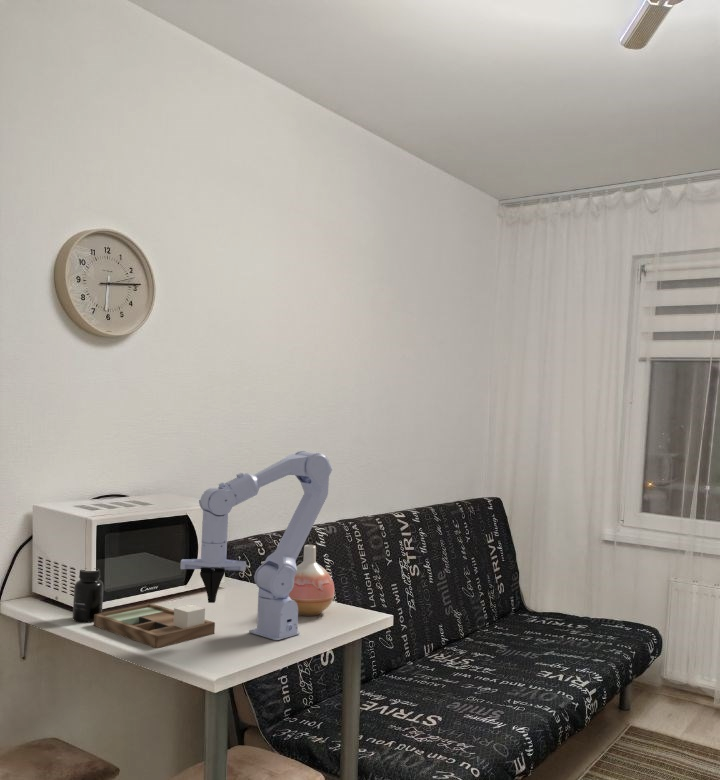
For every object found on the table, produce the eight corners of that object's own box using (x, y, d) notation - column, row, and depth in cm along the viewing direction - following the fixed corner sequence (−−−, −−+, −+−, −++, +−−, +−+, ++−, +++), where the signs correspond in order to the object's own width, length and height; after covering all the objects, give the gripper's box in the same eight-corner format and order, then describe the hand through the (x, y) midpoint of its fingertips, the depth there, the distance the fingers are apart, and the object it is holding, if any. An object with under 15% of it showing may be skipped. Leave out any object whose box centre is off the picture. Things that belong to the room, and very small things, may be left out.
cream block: (204, 625, 180) (205, 608, 181) (187, 629, 177) (187, 612, 177) (190, 621, 184) (191, 604, 184) (173, 625, 180) (174, 608, 180)
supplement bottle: (71, 623, 186) (73, 573, 186) (73, 616, 192) (75, 567, 193) (101, 622, 188) (103, 572, 188) (102, 615, 194) (104, 566, 195)
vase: (310, 623, 193) (312, 552, 193) (270, 613, 201) (273, 545, 202) (344, 613, 204) (346, 545, 204) (305, 604, 212) (307, 539, 213)
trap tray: (214, 633, 181) (214, 622, 181) (157, 648, 169) (157, 636, 169) (150, 613, 197) (150, 603, 197) (93, 625, 185) (94, 614, 185)
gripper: (248, 539, 180) (246, 598, 180) (185, 537, 180) (183, 596, 179) (244, 544, 173) (242, 605, 173) (179, 542, 173) (176, 604, 172)
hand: (211, 601), depth 175 cm, fingers closed
